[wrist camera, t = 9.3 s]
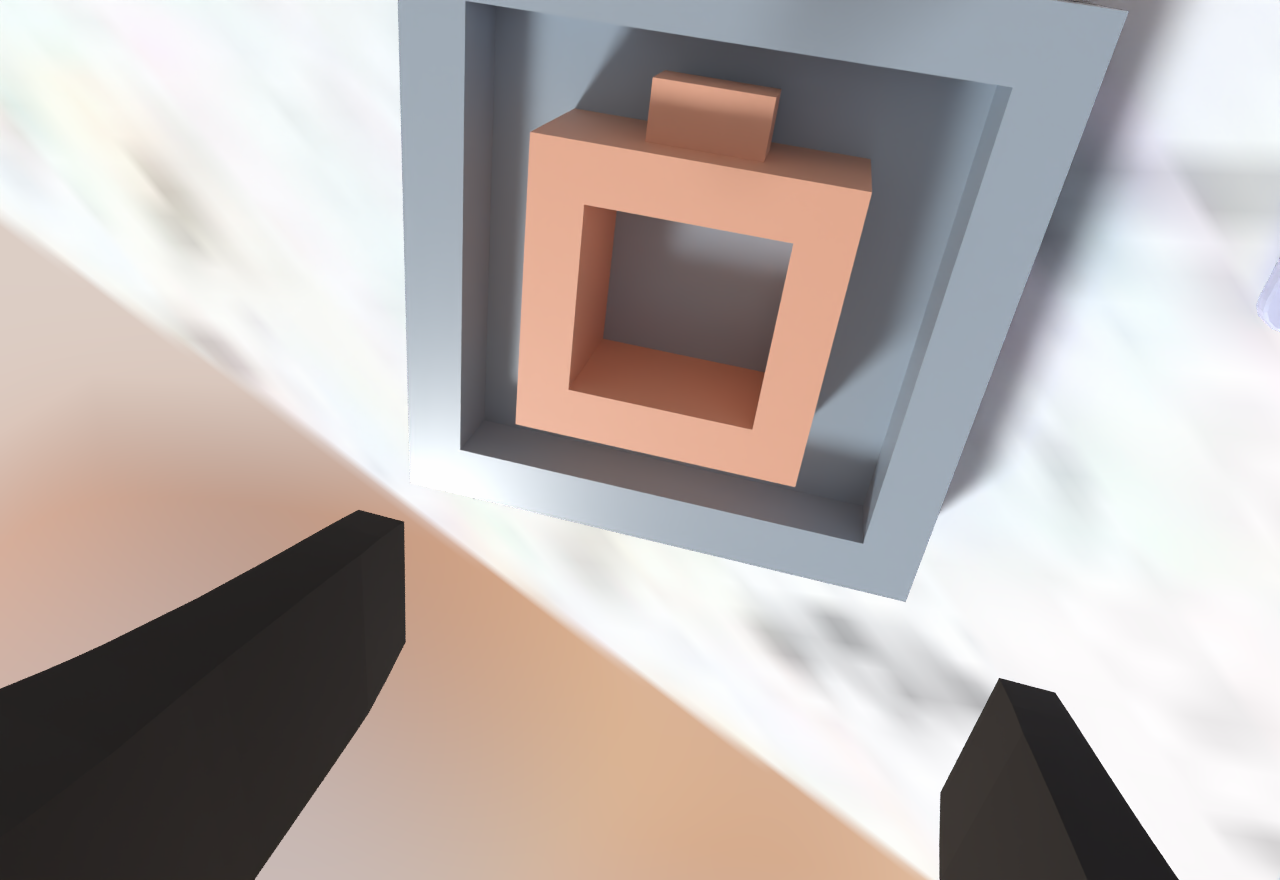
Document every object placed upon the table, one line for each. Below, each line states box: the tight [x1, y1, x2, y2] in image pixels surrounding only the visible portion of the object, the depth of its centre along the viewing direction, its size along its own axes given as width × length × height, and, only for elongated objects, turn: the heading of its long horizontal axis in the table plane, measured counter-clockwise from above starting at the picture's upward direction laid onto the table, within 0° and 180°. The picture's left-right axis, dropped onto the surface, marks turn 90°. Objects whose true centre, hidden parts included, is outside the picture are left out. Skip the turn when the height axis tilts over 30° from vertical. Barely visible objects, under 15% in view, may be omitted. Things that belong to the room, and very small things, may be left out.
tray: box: [398, 0, 1129, 602], centre depth 17 cm, size 11×11×2 cm
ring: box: [516, 70, 872, 487], centre depth 15 cm, size 6×6×2 cm
